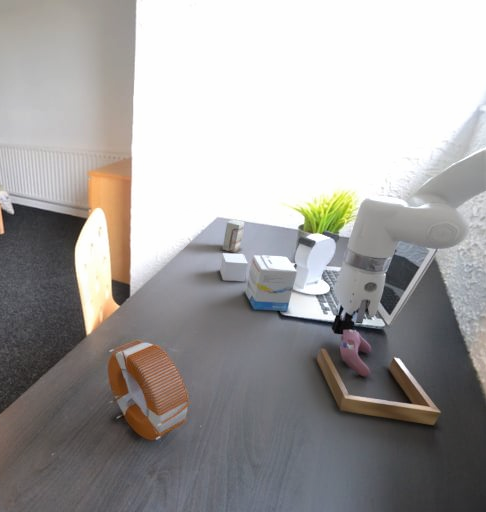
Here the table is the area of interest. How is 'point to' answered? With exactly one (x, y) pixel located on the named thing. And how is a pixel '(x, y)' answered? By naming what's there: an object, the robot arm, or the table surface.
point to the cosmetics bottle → (233, 235)
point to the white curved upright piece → (313, 262)
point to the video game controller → (354, 351)
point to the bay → (416, 412)
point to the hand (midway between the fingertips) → (340, 332)
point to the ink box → (270, 282)
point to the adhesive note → (233, 267)
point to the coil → (147, 389)
